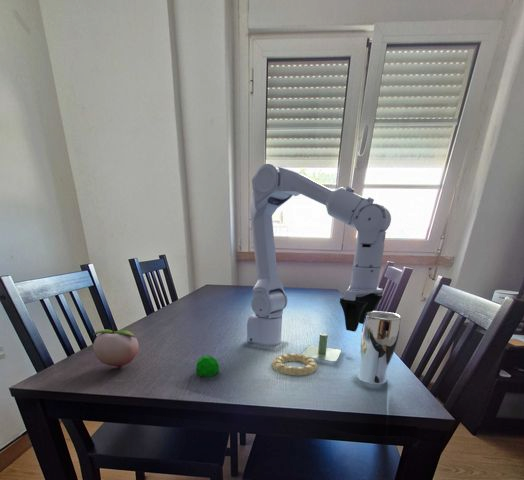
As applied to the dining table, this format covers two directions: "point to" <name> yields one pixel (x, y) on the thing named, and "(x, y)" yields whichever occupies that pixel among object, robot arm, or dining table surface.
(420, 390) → the dining table surface
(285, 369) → the ring
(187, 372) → the dining table surface
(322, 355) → the post stand
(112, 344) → the decorative fruit
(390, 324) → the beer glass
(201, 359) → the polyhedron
